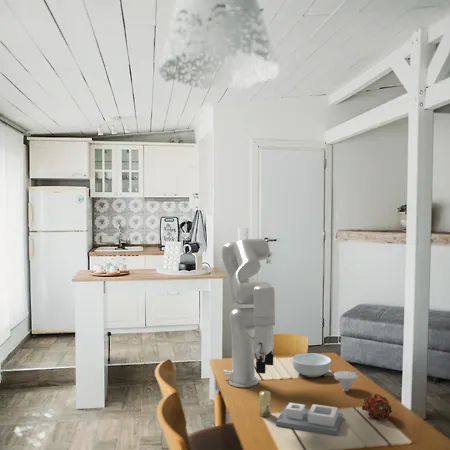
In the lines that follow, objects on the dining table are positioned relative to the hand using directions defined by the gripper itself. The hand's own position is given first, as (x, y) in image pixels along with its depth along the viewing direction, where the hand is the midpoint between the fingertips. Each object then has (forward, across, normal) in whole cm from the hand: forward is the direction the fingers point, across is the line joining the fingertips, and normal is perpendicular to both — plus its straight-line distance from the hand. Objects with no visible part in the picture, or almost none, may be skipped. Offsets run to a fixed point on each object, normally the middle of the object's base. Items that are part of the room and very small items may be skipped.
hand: (264, 368), depth 169 cm
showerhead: (+17, -34, +24) cm, 45 cm away
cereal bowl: (+16, -48, +7) cm, 52 cm away
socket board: (+17, 0, +16) cm, 23 cm away
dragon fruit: (+17, -12, +37) cm, 42 cm away
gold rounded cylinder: (+17, 0, 0) cm, 17 cm away
